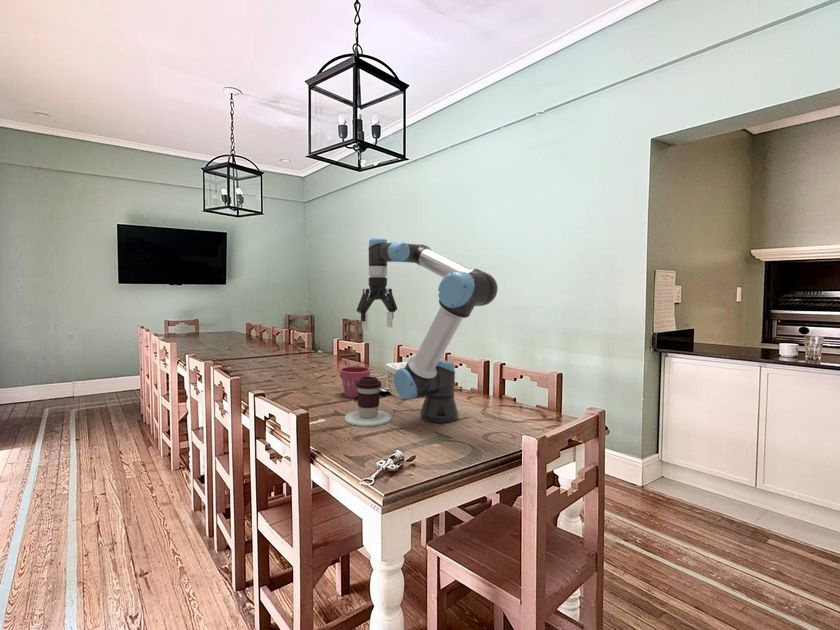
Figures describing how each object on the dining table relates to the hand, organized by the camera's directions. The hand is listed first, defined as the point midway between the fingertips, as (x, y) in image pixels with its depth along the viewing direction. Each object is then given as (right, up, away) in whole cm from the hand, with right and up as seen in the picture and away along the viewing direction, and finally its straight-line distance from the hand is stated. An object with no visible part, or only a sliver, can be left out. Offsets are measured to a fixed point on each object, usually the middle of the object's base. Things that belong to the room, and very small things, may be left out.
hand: (377, 328), depth 184 cm
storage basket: (+15, -33, +32) cm, 48 cm away
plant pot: (-13, -33, +27) cm, 44 cm away
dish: (-3, -35, -9) cm, 37 cm away
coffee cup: (-3, -34, -9) cm, 36 cm away
